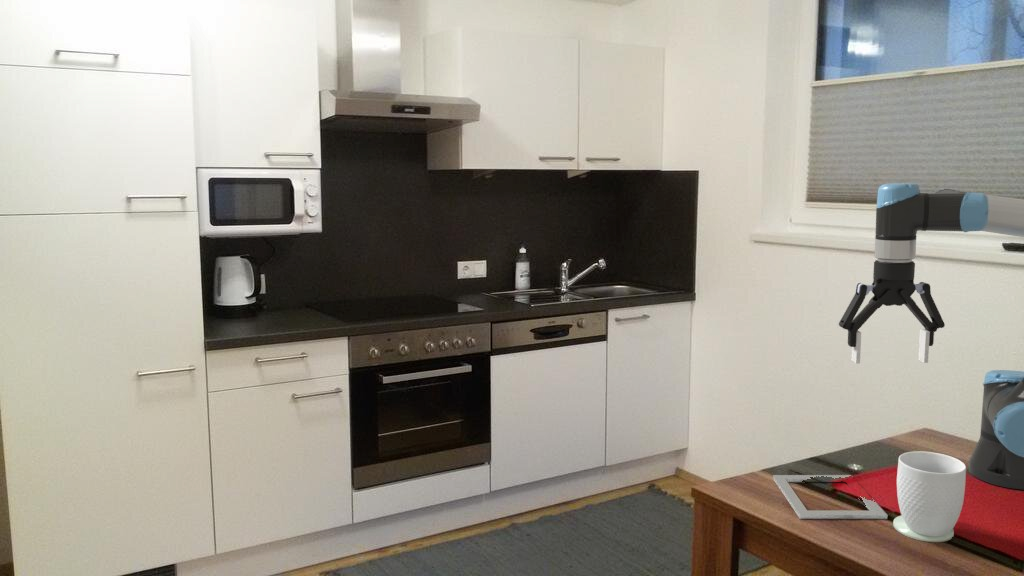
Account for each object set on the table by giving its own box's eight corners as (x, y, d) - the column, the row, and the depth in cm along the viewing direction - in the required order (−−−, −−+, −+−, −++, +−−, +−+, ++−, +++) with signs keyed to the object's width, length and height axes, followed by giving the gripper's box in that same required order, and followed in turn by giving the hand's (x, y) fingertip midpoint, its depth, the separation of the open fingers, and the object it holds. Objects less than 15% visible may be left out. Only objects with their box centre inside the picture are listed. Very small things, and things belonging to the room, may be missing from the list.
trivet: (938, 517, 151) (938, 514, 151) (964, 542, 141) (964, 539, 141) (884, 517, 152) (884, 514, 152) (907, 542, 142) (907, 538, 142)
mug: (871, 509, 154) (874, 445, 152) (924, 505, 155) (928, 442, 153) (917, 545, 140) (921, 475, 137) (975, 541, 141) (980, 471, 138)
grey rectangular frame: (850, 478, 170) (850, 475, 170) (887, 519, 151) (887, 515, 151) (772, 478, 171) (773, 475, 171) (799, 518, 152) (800, 514, 152)
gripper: (948, 256, 163) (942, 356, 166) (825, 258, 164) (821, 357, 168) (967, 261, 155) (960, 365, 159) (837, 263, 157) (833, 366, 160)
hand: (889, 361), depth 163 cm, fingers open, 13 cm apart
